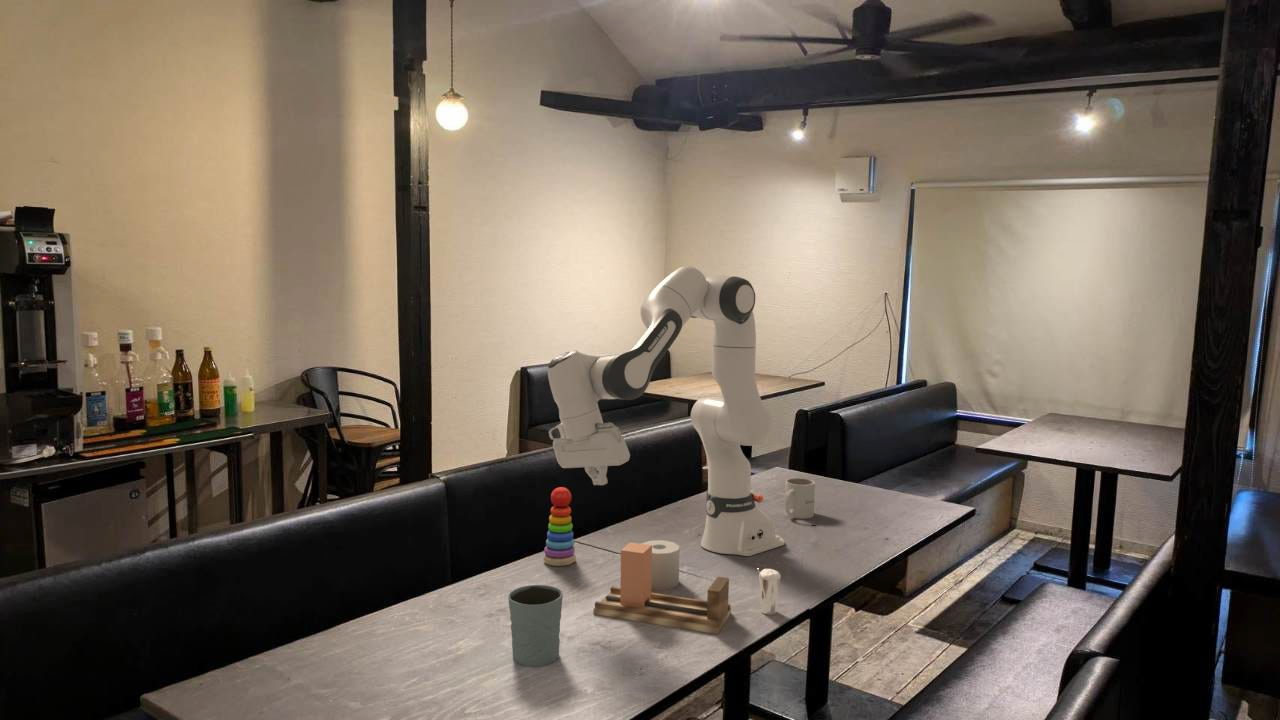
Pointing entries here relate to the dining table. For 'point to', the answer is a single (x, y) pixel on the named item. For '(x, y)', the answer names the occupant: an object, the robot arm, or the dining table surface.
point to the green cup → (535, 624)
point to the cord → (664, 606)
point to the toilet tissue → (664, 564)
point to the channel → (707, 623)
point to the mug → (799, 498)
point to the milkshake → (769, 590)
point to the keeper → (636, 575)
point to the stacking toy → (560, 530)
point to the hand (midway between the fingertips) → (601, 484)
